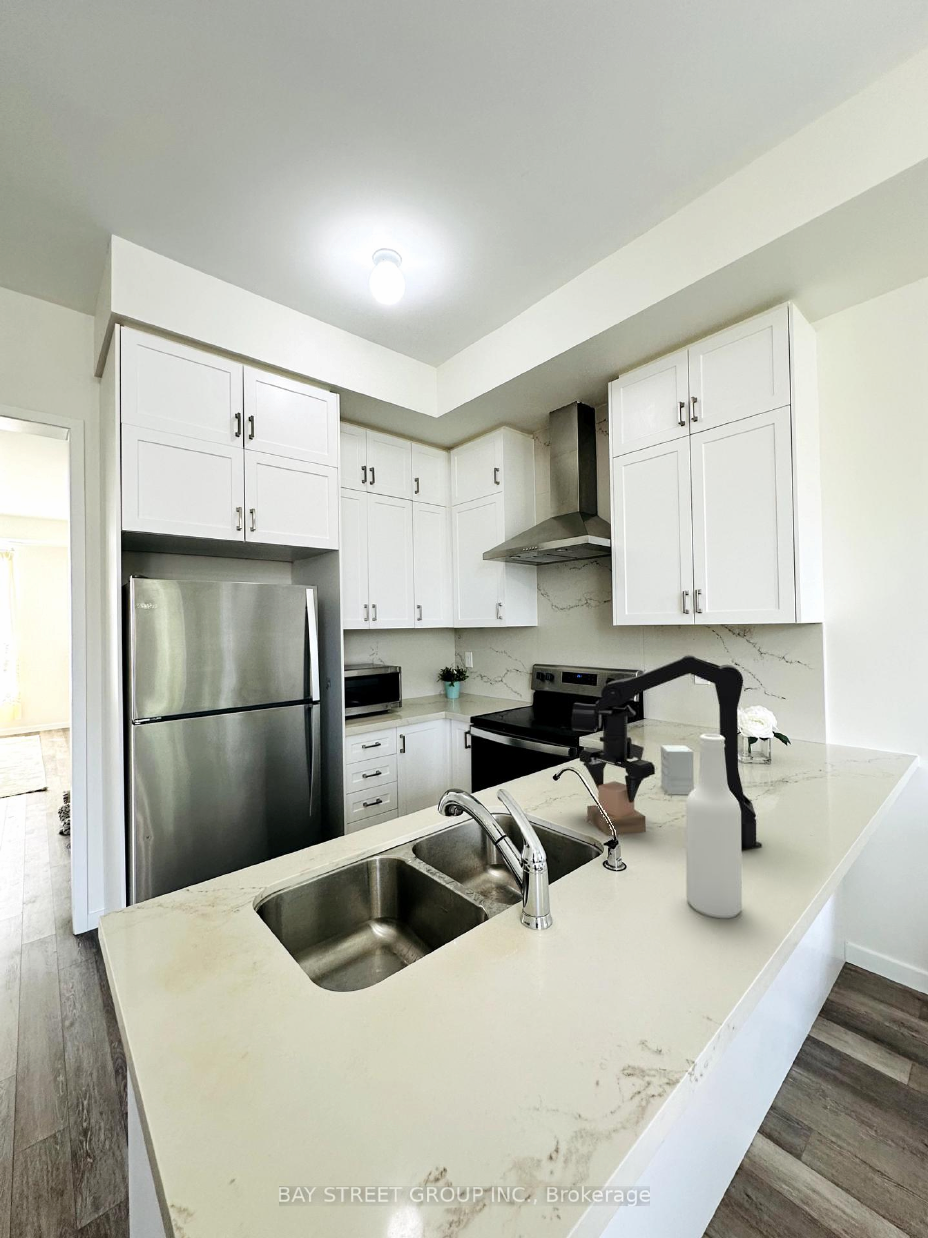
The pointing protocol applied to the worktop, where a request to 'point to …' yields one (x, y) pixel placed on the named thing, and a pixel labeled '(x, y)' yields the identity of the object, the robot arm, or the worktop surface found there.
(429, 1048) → the worktop surface
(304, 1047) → the worktop surface
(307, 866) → the worktop surface
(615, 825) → the walnut block
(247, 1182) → the worktop surface
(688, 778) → the supplement box
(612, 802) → the terracotta cube
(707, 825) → the alcohol
